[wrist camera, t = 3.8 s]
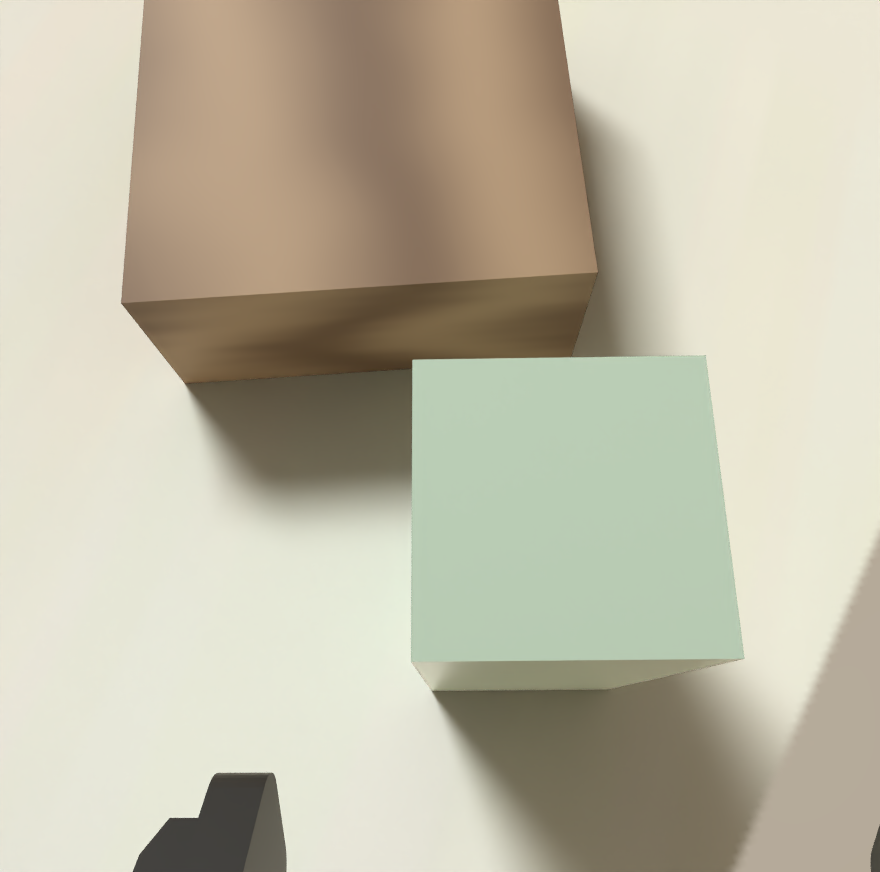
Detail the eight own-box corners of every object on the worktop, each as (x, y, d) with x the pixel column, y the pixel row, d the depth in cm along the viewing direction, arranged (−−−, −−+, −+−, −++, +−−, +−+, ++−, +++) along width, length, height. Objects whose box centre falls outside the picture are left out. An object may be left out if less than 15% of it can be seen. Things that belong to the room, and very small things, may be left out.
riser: (188, 387, 23) (121, 302, 19) (201, 83, 27) (148, -52, 22) (568, 362, 23) (597, 272, 19) (531, 62, 27) (546, -77, 22)
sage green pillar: (431, 691, 20) (411, 662, 11) (430, 518, 22) (412, 359, 12) (609, 689, 20) (744, 658, 11) (596, 516, 22) (705, 355, 12)
